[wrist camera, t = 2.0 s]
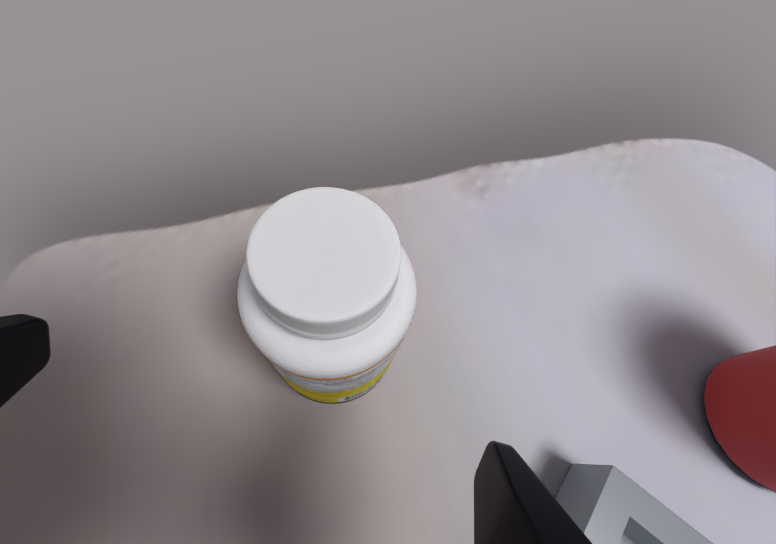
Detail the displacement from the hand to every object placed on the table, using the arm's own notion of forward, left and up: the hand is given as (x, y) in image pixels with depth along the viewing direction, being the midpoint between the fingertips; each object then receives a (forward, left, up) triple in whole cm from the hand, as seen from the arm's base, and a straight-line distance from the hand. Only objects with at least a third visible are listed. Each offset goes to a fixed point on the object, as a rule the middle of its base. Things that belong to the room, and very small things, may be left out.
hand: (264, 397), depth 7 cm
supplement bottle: (+4, +2, -11) cm, 12 cm away
